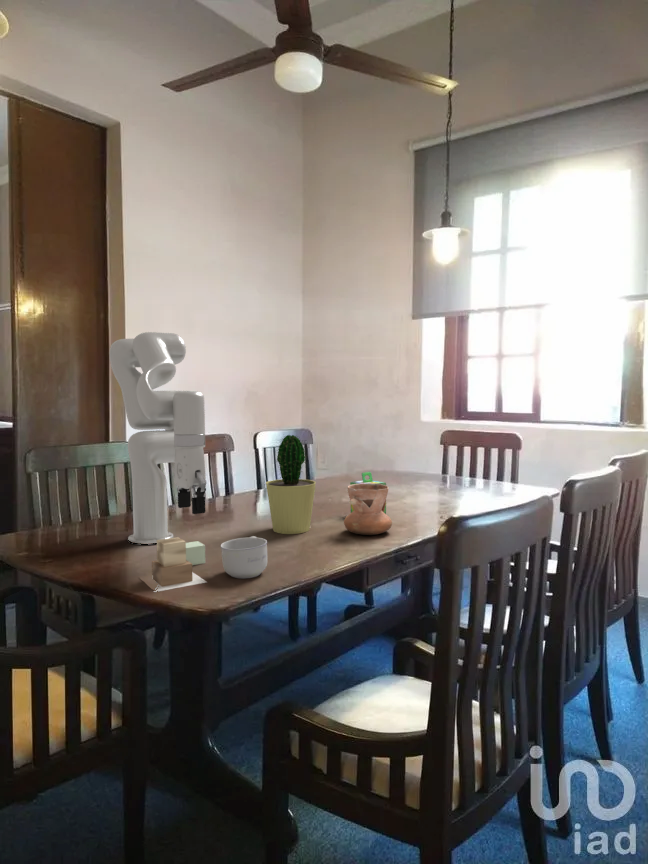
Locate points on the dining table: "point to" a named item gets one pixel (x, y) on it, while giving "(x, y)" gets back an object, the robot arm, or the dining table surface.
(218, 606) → the dining table surface
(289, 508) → the potted cactus
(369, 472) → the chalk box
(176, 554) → the maple block
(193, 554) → the sage block
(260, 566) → the teacup
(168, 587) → the white mat
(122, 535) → the dining table surface
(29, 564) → the dining table surface
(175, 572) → the walnut base brick
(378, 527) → the ceramic jug
